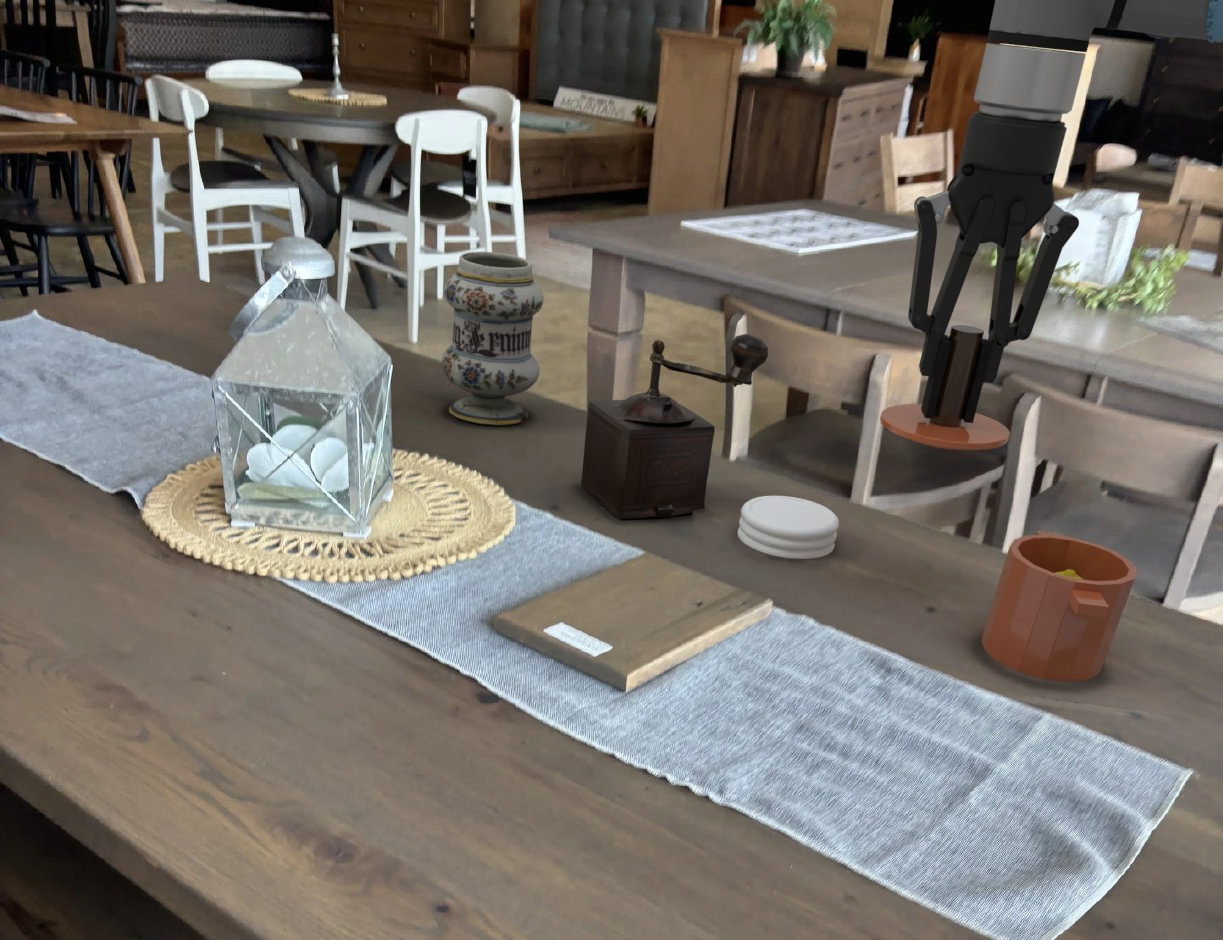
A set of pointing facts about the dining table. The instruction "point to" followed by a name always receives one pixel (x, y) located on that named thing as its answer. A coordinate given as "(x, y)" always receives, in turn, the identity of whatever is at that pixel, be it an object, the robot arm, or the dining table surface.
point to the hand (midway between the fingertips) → (946, 415)
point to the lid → (950, 404)
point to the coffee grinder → (657, 442)
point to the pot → (1057, 607)
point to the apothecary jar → (491, 336)
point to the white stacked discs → (788, 527)
